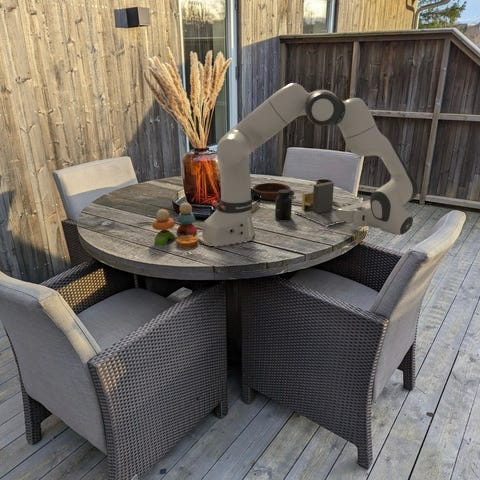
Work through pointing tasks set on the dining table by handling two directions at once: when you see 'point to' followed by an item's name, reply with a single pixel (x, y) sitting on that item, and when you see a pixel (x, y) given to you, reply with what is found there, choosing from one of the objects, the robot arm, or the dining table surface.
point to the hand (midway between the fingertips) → (344, 205)
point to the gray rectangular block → (322, 197)
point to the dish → (271, 190)
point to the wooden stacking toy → (185, 219)
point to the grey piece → (323, 217)
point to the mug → (322, 181)
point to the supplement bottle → (283, 205)
